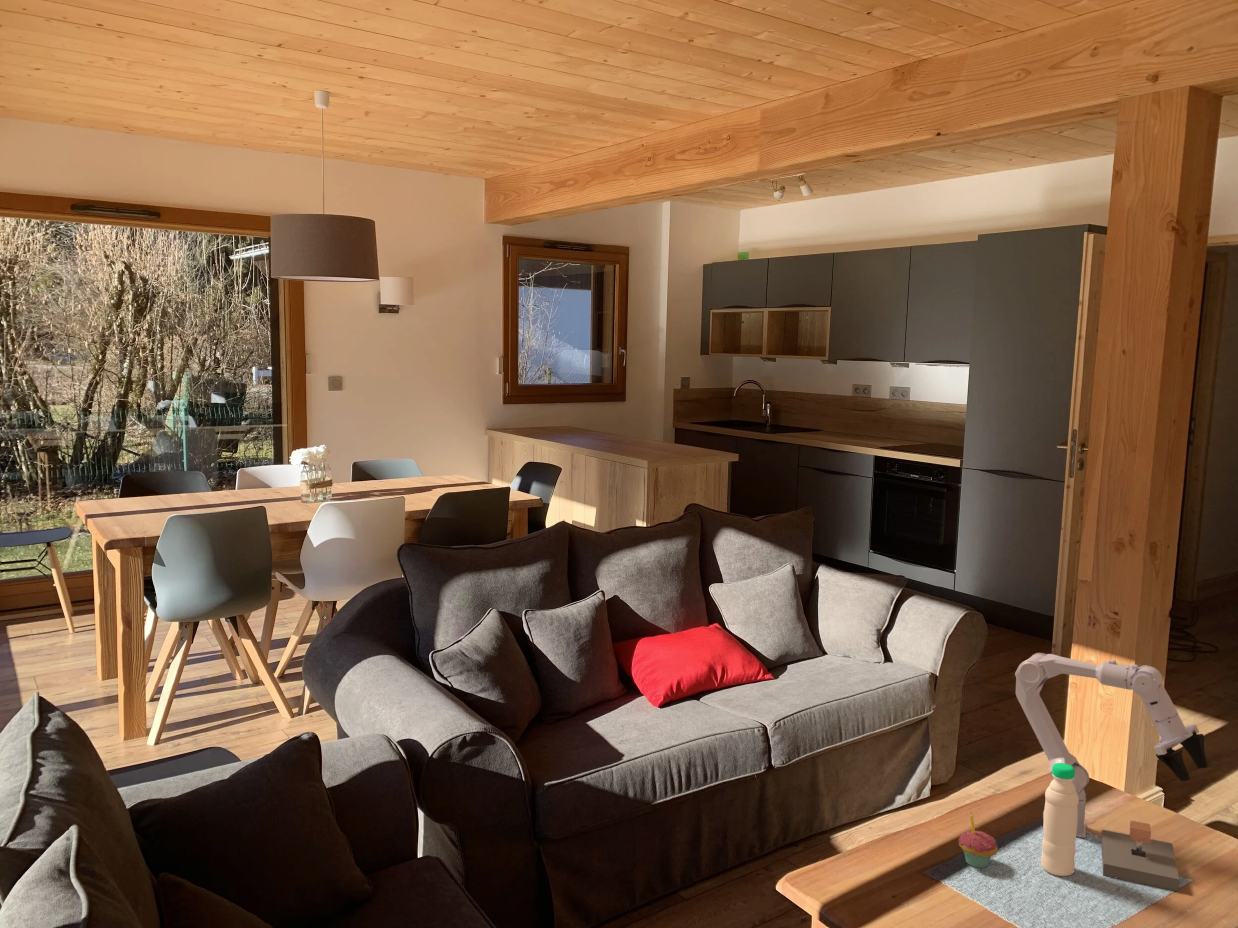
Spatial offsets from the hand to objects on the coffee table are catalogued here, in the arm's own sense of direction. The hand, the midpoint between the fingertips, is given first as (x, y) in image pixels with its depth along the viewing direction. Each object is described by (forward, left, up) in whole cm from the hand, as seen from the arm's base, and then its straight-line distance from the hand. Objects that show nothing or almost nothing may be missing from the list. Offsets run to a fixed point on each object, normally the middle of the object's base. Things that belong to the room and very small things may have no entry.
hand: (1194, 773), depth 222 cm
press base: (-10, -5, -22) cm, 25 cm away
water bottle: (-27, -16, -22) cm, 39 cm away
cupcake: (-44, -21, -22) cm, 54 cm away
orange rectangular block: (-10, -5, -19) cm, 22 cm away
